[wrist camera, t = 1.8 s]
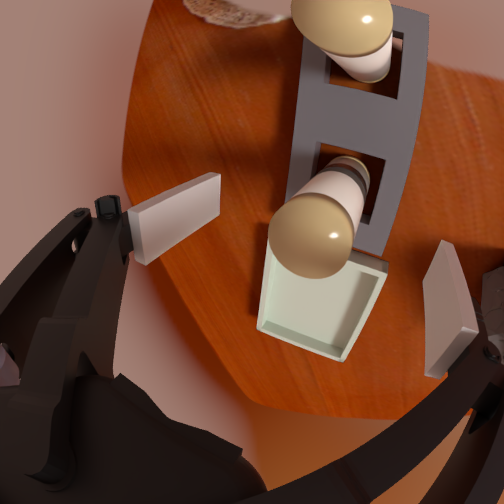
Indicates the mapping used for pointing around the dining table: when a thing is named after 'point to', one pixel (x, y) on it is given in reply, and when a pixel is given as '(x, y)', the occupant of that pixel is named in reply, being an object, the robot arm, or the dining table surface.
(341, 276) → the parts tray
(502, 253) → the dining table surface
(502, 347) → the electrical switch
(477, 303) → the robot arm
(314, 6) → the fuse
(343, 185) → the fuse
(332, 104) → the fuse block
